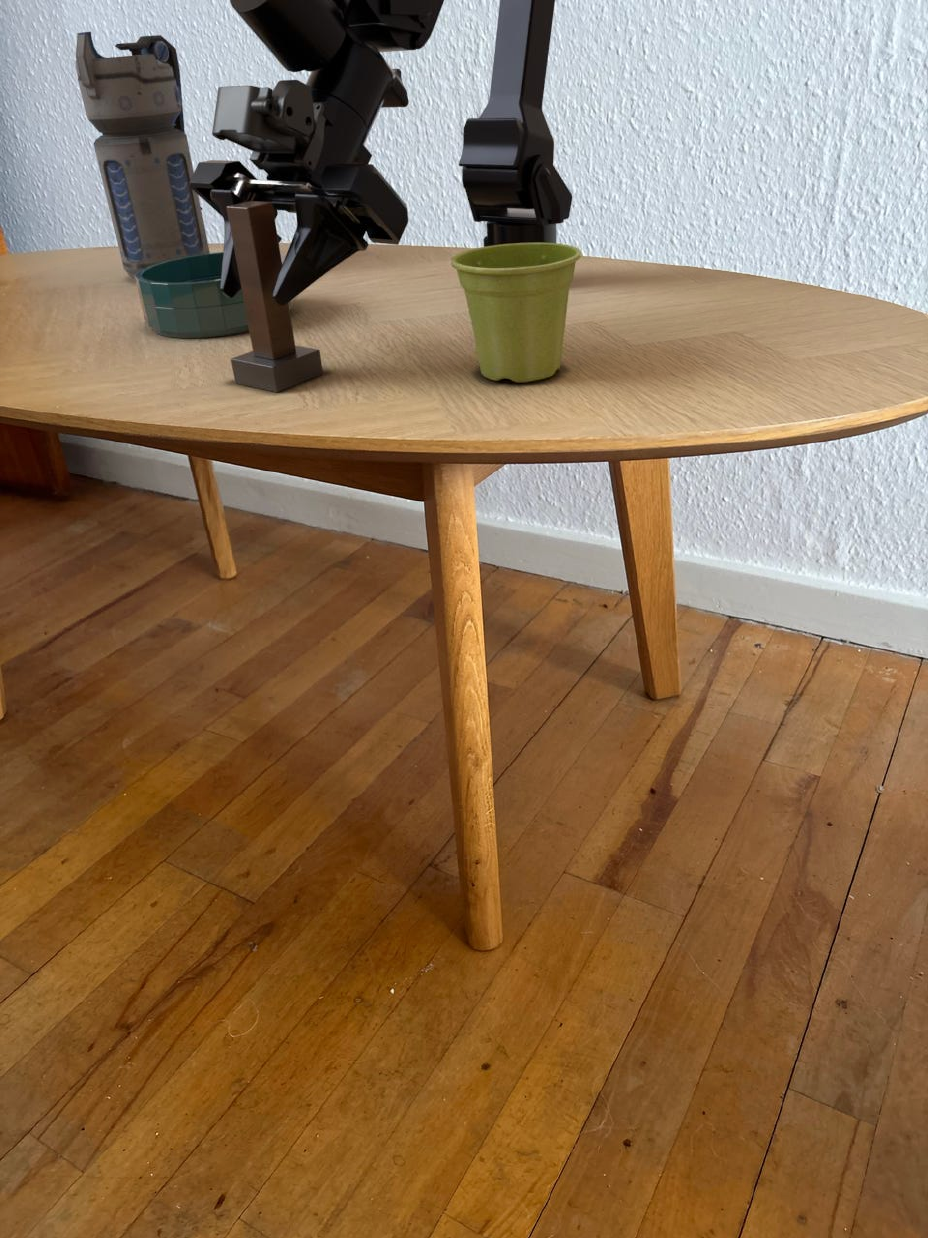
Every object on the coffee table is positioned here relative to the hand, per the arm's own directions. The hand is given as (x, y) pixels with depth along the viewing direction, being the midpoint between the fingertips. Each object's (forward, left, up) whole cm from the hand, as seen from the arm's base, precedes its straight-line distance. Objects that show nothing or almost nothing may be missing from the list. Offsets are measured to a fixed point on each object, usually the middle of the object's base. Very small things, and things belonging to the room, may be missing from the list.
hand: (251, 298), depth 72 cm
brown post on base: (0, -1, -7) cm, 7 cm away
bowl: (+18, -15, -7) cm, 24 cm away
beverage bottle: (+39, -31, -7) cm, 50 cm away
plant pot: (-18, -8, -7) cm, 21 cm away
